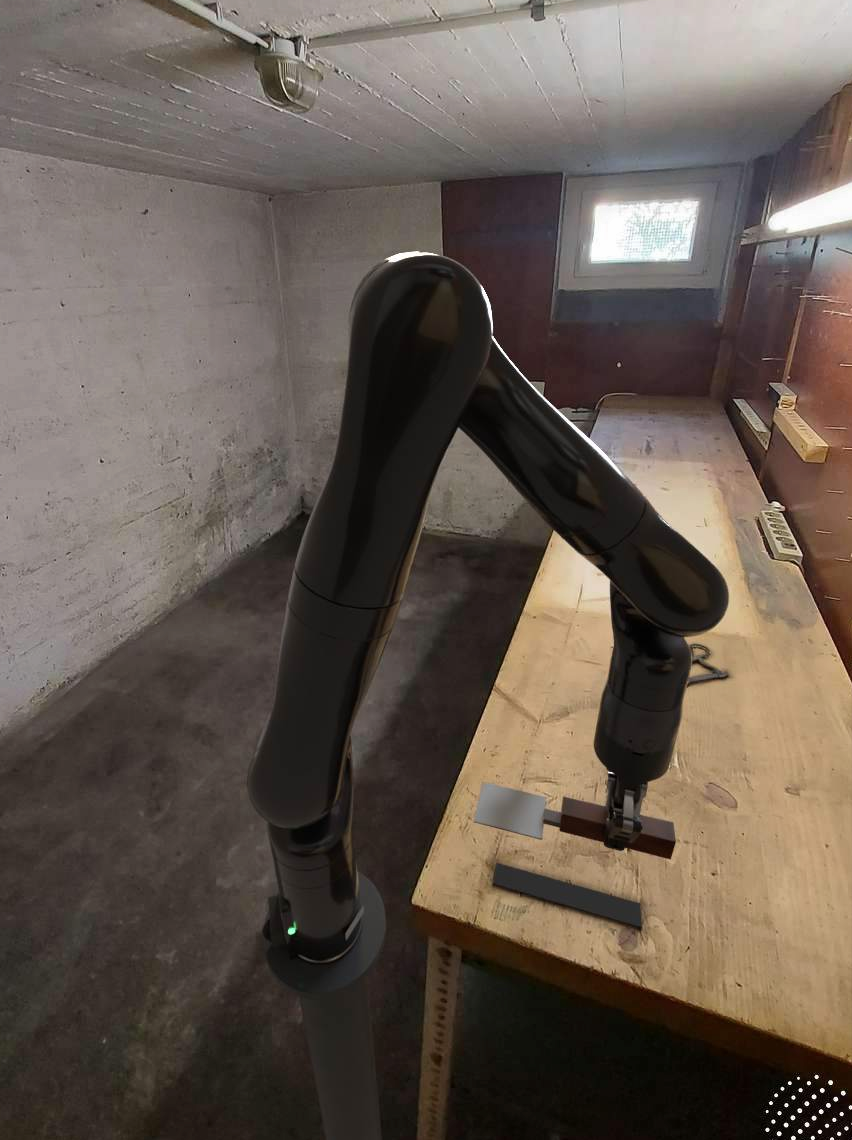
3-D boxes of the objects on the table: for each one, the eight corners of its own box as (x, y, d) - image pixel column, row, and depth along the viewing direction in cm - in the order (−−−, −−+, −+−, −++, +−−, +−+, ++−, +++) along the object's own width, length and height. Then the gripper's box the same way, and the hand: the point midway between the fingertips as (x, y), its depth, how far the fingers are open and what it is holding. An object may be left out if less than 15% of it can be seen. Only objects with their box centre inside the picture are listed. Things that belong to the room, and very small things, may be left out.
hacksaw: (627, 697, 104) (628, 690, 103) (596, 663, 113) (597, 657, 112) (738, 675, 108) (740, 668, 108) (700, 644, 117) (702, 638, 117)
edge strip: (492, 884, 73) (492, 883, 73) (496, 863, 76) (496, 862, 75) (641, 928, 68) (641, 927, 68) (640, 904, 70) (640, 903, 70)
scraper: (667, 826, 66) (671, 809, 64) (672, 874, 61) (678, 856, 59) (482, 782, 72) (483, 766, 71) (473, 822, 67) (474, 805, 66)
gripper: (598, 672, 64) (581, 779, 72) (598, 765, 52) (576, 881, 60) (670, 684, 62) (644, 793, 70) (686, 784, 50) (652, 902, 58)
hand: (613, 833), depth 65 cm, fingers closed on scraper, 2 cm apart
